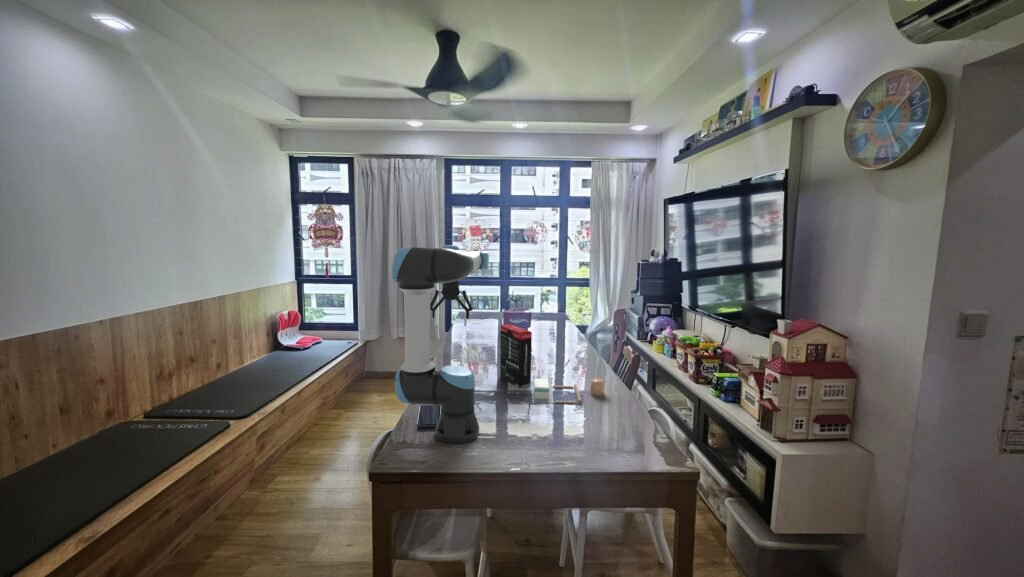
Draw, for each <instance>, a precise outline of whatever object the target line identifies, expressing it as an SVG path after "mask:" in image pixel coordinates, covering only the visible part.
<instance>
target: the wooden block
mask: <svg viewBox="0 0 1024 577" xmlns="http://www.w3.org/2000/svg"><path fill="white" fill-rule="evenodd" d="M589 387H590V388H589V393H590V395H591V396H593V397H603V396H604V394H605V380H604V379H602V378H597V377H596V378H594V377H593V378H591V379H590V384H589Z"/></svg>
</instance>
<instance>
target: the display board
mask: <svg viewBox="0 0 1024 577" xmlns="http://www.w3.org/2000/svg"><path fill="white" fill-rule="evenodd" d="M553 388H554V389H574V393H575V397H576V400H577V401H574V400H573V401H572V400H555V401H554V392H553ZM531 403H539V404H540V403H542V404H554V403H555V404H562V405H563V404H565V405H566V404H567V405H582V398H581V394H580V391H579V388H578V385H577V383H574V385H572V386H571V385H552V386H549V399H535V398H534V385H532V386H531Z"/></svg>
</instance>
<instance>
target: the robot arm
mask: <svg viewBox="0 0 1024 577" xmlns="http://www.w3.org/2000/svg"><path fill="white" fill-rule="evenodd" d="M489 257H490V255H489V253H488V251H482V250H480V251H477V250H469V251H468V250H460V246H458V245H454V244H452V245H451V244H450V245H449V244H447V245H446V244H445V245H442V247H417V246H416V247H415V246H411V247H401V248H400V249H398V251H397V252H396V253H395V255H394V257H393V262H392V265H391V267H392V268H391V277H392V280H393V282H395V283H398V289H399V290H400V291H401V292H402V293H403V307H404V308H403V309H404V310H403V312H404V313H403V316H404V319H403V320H404V349H405V350H404V357H405V361H404V362H403V363H402V364H401V366H400V369H399V370H397V372H396V374H395V381H394V389H395V394H396V397H397V399H398V400H399V401H400V402H401V403H403V404H410V405H413V406H414V405H425V406H440V415H439V416H438V420H437V423H436V426H435V437H436V439H437V440H439V441H441V442H442V443H445V444H453V445H458V444H465V443H469V442H472V441H475V439H477V438H478V436H479V435H480V425H479V421H478V418H477V415H476V412H475V391H476V390H475V388H476V383H475V375H474V372H473V371H472V370H471V369H469V368H467V367H465V366H461V365H453V364H451V365H445V366H443V367H441V369H440V370H437V369H436V363H435V362H433V361H432V358H431V357H432V354H431V352H432V349H431V348H432V347H431V346H432V345H431V344H432V342H431V337H432V336H431V315H432V318H433V319H434V326H438V324H439V322H438V316H439V314H438V310H437V309H438V308H439V307H440V305H441V304H442V303H443V302H444V301H445V300H446V301H451V300H452V301H454V300H456V302H458V304H459V305H460V306H461V307H462V309H463V310H464V312H463V313H464V314H463V315H464V316H463V320H464V321H463V326H464V327H466V326H467V325H468V324H467V322H468V321H467V320H468V319H470V312H471V311H473V310H474V307H473V306H472V303H471V301H470V299H469V297H468V296H467V290H466V289H464V290H461V289H460V280H463V279H465V278H467V277H469V276H470V275H471V274H472V273H473V271H475V270H487V269H488V268H489V264H490V261H489V260H490V258H489ZM435 284H442V288H441V289H438V288H437V289H435ZM434 289H435V291H434V295H433V298H432V300H431V293H432V291H433V290H434ZM460 294H461V296H462V297H463V300H465V303H464V301H463V300H462V298H461V297H460ZM439 295H442V297H441V298H440V299H439V301H438V302H436V301H437V299H438V297H439ZM435 303H436V304H435ZM434 305H435V306H434ZM431 312H432V313H431Z"/></svg>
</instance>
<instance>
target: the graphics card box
mask: <svg viewBox="0 0 1024 577" xmlns="http://www.w3.org/2000/svg"><path fill="white" fill-rule="evenodd" d="M532 334H533V333H532V331H529V330H528V329H527V330H526V329H524V328H522V327H519V326H516V325H513V324H501V325H500V360H499V361H500V362H499V363H500V367H499V369H500V370H499V372H500V375H499V376H500V378H501V379H502V380H504V381H505V382H507V383H509V384H511V385H513V386H515V387H516V388H519V389H523V388H528V387H532V386H531V385H532V384H531V382H532V379H531V376H532V338H533V335H532Z"/></svg>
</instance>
